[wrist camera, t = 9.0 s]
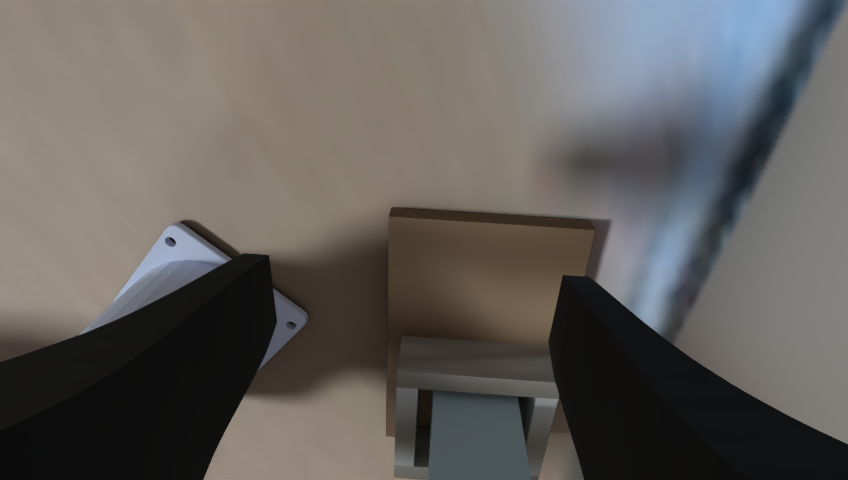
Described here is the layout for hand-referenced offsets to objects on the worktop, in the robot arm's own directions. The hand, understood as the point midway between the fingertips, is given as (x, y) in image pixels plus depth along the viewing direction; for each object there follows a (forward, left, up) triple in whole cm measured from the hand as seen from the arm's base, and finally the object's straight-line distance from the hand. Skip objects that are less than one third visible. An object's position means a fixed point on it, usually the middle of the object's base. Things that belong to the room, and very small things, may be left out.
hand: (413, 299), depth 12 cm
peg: (-7, -10, -9) cm, 15 cm away
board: (-5, -8, -10) cm, 14 cm away
